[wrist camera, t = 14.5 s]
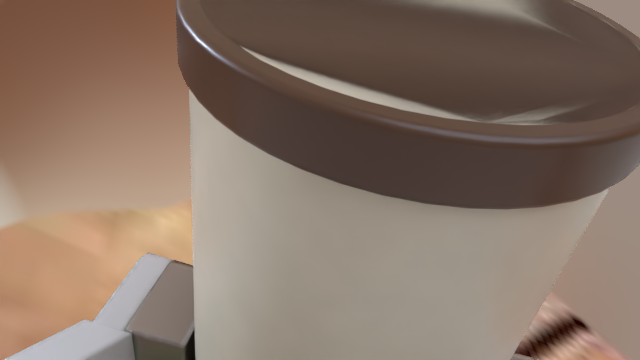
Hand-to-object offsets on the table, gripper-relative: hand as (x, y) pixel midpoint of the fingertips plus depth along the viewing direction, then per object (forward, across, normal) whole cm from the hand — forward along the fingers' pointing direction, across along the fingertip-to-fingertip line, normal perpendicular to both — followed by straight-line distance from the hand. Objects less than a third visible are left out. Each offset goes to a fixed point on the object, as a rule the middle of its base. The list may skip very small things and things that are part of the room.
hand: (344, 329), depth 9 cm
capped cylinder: (-1, 0, -8) cm, 8 cm away
